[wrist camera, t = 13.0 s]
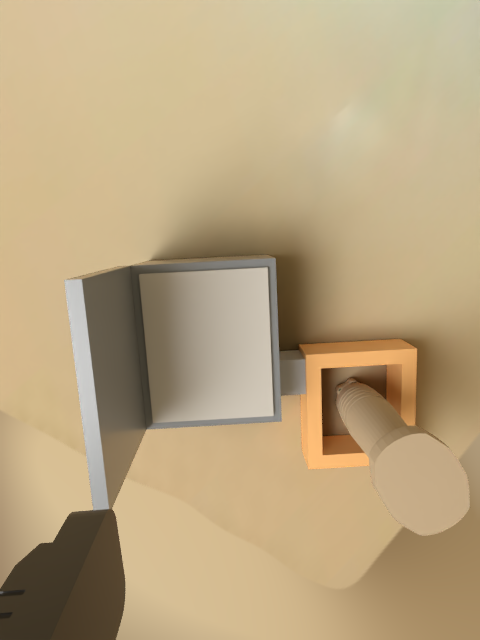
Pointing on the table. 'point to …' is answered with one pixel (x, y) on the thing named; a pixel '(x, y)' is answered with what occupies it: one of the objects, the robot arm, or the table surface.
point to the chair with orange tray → (204, 361)
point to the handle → (405, 462)
